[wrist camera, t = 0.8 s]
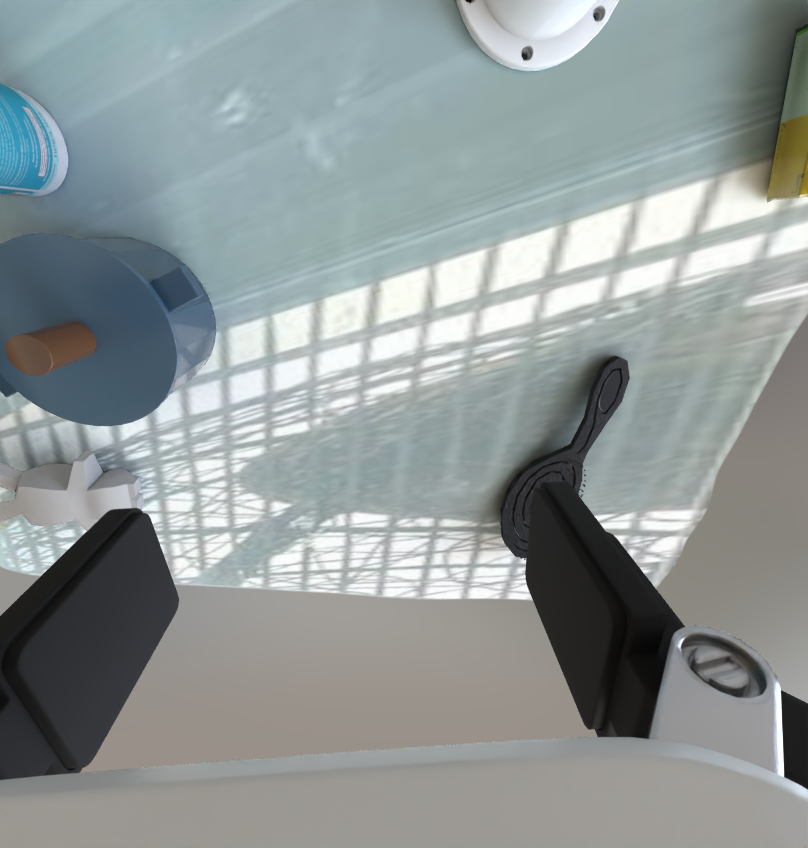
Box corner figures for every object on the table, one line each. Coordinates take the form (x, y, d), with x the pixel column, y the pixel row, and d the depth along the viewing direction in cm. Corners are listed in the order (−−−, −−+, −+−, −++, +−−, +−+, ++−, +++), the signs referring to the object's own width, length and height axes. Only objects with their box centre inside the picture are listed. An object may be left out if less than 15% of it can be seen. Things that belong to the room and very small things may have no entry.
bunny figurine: (136, 543, 45) (-26, 544, 43) (154, 514, 50) (9, 513, 47) (122, 469, 41) (-57, 465, 39) (143, 445, 46) (-15, 439, 43)
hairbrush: (670, 376, 40) (555, 571, 49) (648, 367, 44) (543, 551, 52) (596, 349, 39) (491, 555, 48) (579, 342, 43) (483, 535, 51)
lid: (-63, 288, 30) (-156, 300, 25) (94, 195, 28) (28, 187, 23) (80, 446, 36) (28, 482, 31) (220, 378, 34) (189, 404, 29)
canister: (7, 293, 38) (-90, 308, 30) (179, 194, 35) (121, 184, 27) (111, 416, 43) (51, 455, 36) (267, 339, 40) (239, 364, 33)
